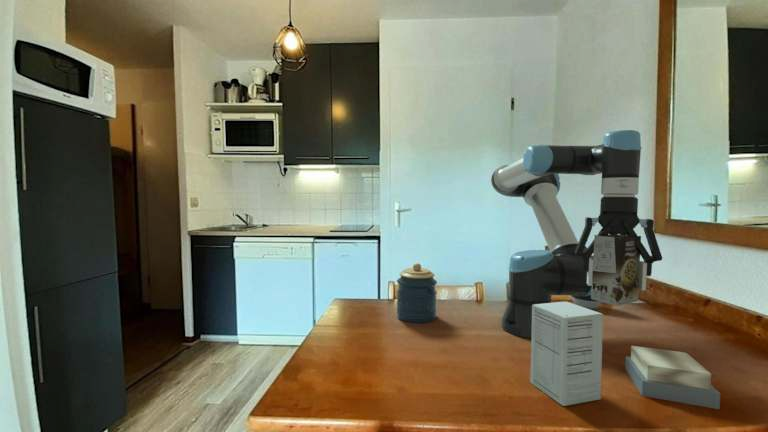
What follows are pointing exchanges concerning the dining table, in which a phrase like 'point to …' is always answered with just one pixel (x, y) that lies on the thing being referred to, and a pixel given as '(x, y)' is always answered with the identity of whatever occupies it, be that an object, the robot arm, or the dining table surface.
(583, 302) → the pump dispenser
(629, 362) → the grey base slab
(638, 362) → the birch top slab
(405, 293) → the canister
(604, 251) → the coffee box
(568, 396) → the supplement box
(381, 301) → the dining table surface
